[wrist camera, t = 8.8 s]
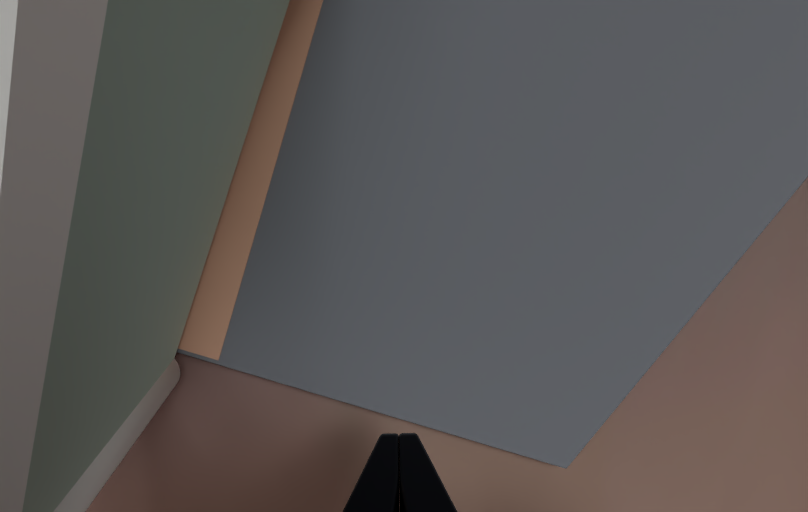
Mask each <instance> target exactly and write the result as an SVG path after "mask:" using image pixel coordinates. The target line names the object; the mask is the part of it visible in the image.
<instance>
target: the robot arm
mask: <svg viewBox="0 0 808 512" xmlns="http://www.w3.org/2000/svg"><path fill="white" fill-rule="evenodd" d="M399 496H400V512H457V510H456V508H455V506H454V505H453V503H452V501H451V499H450V497H449V495H448V493H447V491H446V489H445V487H444V485H443V483H442V481H441V479H440V477H439V475H438V474H437V472H436V470H435V468H434V466H433V464H432V462H431V460H430V458H429V456H428V454H427V452H426V450H425V448H424V446H423V445H422V443H421V441H420V439H419V437H418V435H417V434H415V433H402V434H400V435H399V436H398V434H382V435H381V436H380V437H379V439H378V441H377V443H376V445H375V447H374V449H373V451H372V453H371V455H370V457H369V459H368V461H367V463H366V465H365V467H364V469H363V471H362V473H361V475H360V477H359V479H358V481H357V483H356V485H355V488H354V490H353V492H352V494H351V496H350V498H349V500H348V502H347V504H346V506H345V508H344V510H343V512H399Z"/></svg>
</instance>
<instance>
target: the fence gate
mask: <svg viewBox="0 0 808 512" xmlns="http://www.w3.org/2000/svg"><path fill="white" fill-rule="evenodd" d="M289 1H290V0H0V512H85V511H86V510H87V509H88V507H89V506H90V504H91V503H92V502H93V500H94V499H95V497H96V496H97V495H98V493H99V492H100V490H101V489H102V488H103V486H104V485H105V483H106V482H107V481H108V479H109V478H110V476H111V475H112V474H113V472H114V471H115V469H116V468H117V467H118V465H119V464H120V462H121V461H122V460H123V458H124V457H125V455H126V454H127V453H128V451H129V450H130V448H131V447H132V446H133V444H134V443H135V441H136V440H137V439H138V437H139V436H140V434H141V433H142V432H143V430H144V429H145V427H146V426H147V425H148V423H149V422H150V420H151V419H152V418H153V416H154V415H155V413H156V412H157V411H158V409H159V408H160V407H161V405H162V404H163V402H164V401H165V400H166V398H167V397H168V395H169V394H170V393H171V391H172V390H173V388H174V387H175V386H176V384H177V383H178V381H179V379H180V368H179V365H178V363H177V361H176V359H175V355H176V352H177V349H178V346H179V343H180V339H181V336H182V333H183V330H184V327H185V324H186V321H187V318H188V315H189V312H190V308H191V305H192V302H193V299H194V296H195V293H196V290H197V287H198V284H199V281H200V277H201V274H202V271H203V268H204V265H205V262H206V259H207V256H208V253H209V249H210V246H211V243H212V240H213V237H214V234H215V231H216V228H217V225H218V222H219V218H220V215H221V212H222V209H223V206H224V203H225V200H226V197H227V194H228V191H229V187H230V184H231V181H232V178H233V175H234V172H235V169H236V166H237V163H238V160H239V156H240V153H241V150H242V147H243V144H244V141H245V138H246V135H247V132H248V129H249V125H250V122H251V119H252V116H253V113H254V110H255V107H256V104H257V101H258V98H259V94H260V91H261V88H262V85H263V82H264V79H265V76H266V73H267V70H268V67H269V63H270V60H271V57H272V54H273V51H274V48H275V45H276V42H277V39H278V35H279V32H280V29H281V26H282V23H283V20H284V17H285V14H286V11H287V8H288V4H289Z"/></svg>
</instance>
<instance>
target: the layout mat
mask: <svg viewBox="0 0 808 512" xmlns="http://www.w3.org/2000/svg"><path fill="white" fill-rule="evenodd" d="M807 177H808V0H290V1H289V4H288V8H287V11H286V14H285V17H284V20H283V23H282V26H281V29H280V32H279V35H278V39H277V42H276V45H275V48H274V51H273V54H272V57H271V60H270V63H269V67H268V70H267V73H266V76H265V79H264V82H263V85H262V88H261V91H260V94H259V98H258V101H257V104H256V107H255V110H254V113H253V116H252V119H251V122H250V125H249V129H248V132H247V135H246V138H245V141H244V144H243V147H242V150H241V153H240V156H239V160H238V163H237V166H236V169H235V172H234V175H233V178H232V181H231V184H230V187H229V191H228V194H227V197H226V200H225V203H224V206H223V209H222V212H221V215H220V218H219V222H218V225H217V228H216V231H215V234H214V237H213V240H212V243H211V246H210V249H209V253H208V256H207V259H206V262H205V265H204V268H203V271H202V274H201V277H200V281H199V284H198V287H197V290H196V293H195V296H194V299H193V302H192V305H191V308H190V312H189V315H188V318H187V321H186V324H185V327H184V330H183V333H182V336H181V339H180V343H179V346H178V349H177V352H178V353H181V354H185V355H188V356H191V357H195V358H198V359H201V360H205V361H208V362H212V363H215V364H218V365H222V366H225V367H228V368H232V369H235V370H238V371H242V372H245V373H248V374H252V375H255V376H258V377H262V378H265V379H268V380H272V381H275V382H278V383H282V384H285V385H288V386H292V387H295V388H298V389H302V390H305V391H308V392H312V393H315V394H318V395H322V396H325V397H328V398H332V399H335V400H338V401H342V402H345V403H349V404H352V405H355V406H359V407H362V408H365V409H369V410H372V411H375V412H379V413H382V414H385V415H389V416H392V417H395V418H399V419H402V420H405V421H409V422H412V423H415V424H419V425H422V426H425V427H429V428H432V429H435V430H439V431H442V432H445V433H449V434H452V435H455V436H459V437H462V438H465V439H469V440H472V441H476V442H479V443H482V444H486V445H489V446H492V447H496V448H499V449H502V450H506V451H509V452H512V453H516V454H519V455H522V456H526V457H529V458H532V459H536V460H539V461H542V462H546V463H549V464H552V465H556V466H559V467H562V468H567V467H568V466H569V465H570V463H571V462H572V461H573V460H574V459H575V457H576V456H577V455H578V454H579V453H580V451H581V450H582V449H583V448H584V447H585V445H586V444H587V443H588V442H589V440H590V439H591V438H592V437H593V436H594V434H595V433H596V432H597V431H598V430H599V428H600V427H601V426H602V425H603V424H604V422H605V421H606V420H607V419H608V418H609V416H610V415H611V414H612V413H613V411H614V410H615V409H616V408H617V407H618V405H619V404H620V403H621V402H622V401H623V399H624V398H625V397H626V396H627V395H628V393H629V392H630V391H631V390H632V388H633V387H634V386H635V385H636V384H637V382H638V381H639V380H640V379H641V378H642V376H643V375H644V374H645V373H646V372H647V370H648V369H649V368H650V367H651V366H652V364H653V363H654V362H655V361H656V359H657V358H658V357H659V356H660V355H661V353H662V352H663V351H664V350H665V349H666V347H667V346H668V345H669V344H670V343H671V341H672V340H673V339H674V338H675V336H676V335H677V334H678V333H679V332H680V330H681V329H682V328H683V327H684V326H685V324H686V323H687V322H688V321H689V320H690V318H691V317H692V316H693V315H694V313H695V312H696V311H697V310H698V309H699V307H700V306H701V305H702V304H703V303H704V301H705V300H706V299H707V298H708V297H709V295H710V294H711V293H712V292H713V291H714V289H715V288H716V287H717V286H718V284H719V283H720V282H721V281H722V280H723V278H724V277H725V276H726V275H727V274H728V272H729V271H730V270H731V269H732V268H733V266H734V265H735V264H736V263H737V261H738V260H739V259H740V258H741V257H742V255H743V254H744V253H745V252H746V251H747V249H748V248H749V247H750V246H751V245H752V243H753V242H754V241H755V240H756V239H757V237H758V236H759V235H760V234H761V232H762V231H763V230H764V229H765V228H766V226H767V225H768V224H769V223H770V222H771V220H772V219H773V218H774V217H775V216H776V214H777V213H778V212H779V211H780V209H781V208H782V207H783V206H784V205H785V203H786V202H787V201H788V200H789V199H790V197H791V196H792V195H793V194H794V193H795V191H796V190H797V189H798V188H799V187H800V185H801V184H802V183H803V182H804V180H805V179H806V178H807Z"/></svg>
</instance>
